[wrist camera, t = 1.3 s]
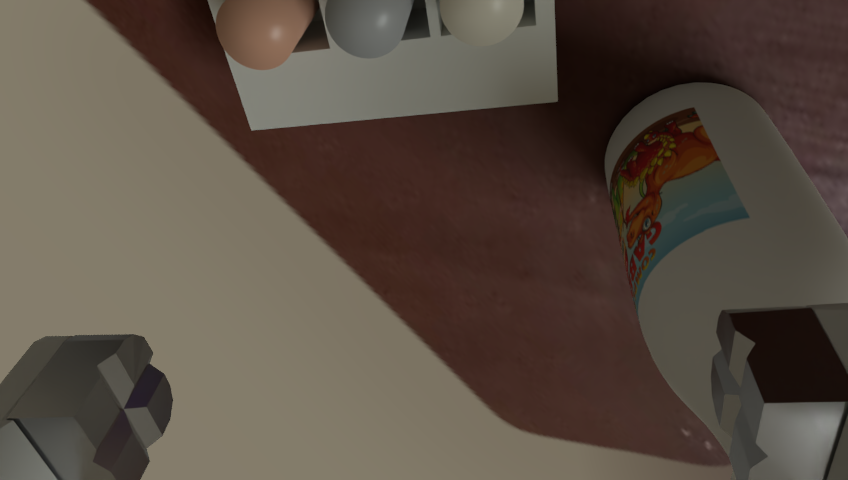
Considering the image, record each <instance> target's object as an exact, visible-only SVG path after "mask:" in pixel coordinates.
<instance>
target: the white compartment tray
mask: <svg viewBox="0 0 848 480" xmlns="http://www.w3.org/2000/svg"><path fill="white" fill-rule="evenodd" d="M224 2H225V0H208V3H209V6H210V9H211V12H212V15H213V18H214V21H215V24H216V16H217V13H218V10H219V8H220V7H221V5H222V4H223V3H224ZM326 3H327V0H319V4H320V7H319V9H318V11H317V13H316V15H315V16H314V18H313V19H312V21H311V23H310V24H309V26H308V27H307V29H306V31H305V32H304V34H303V35H302V37H301V38H300V40H299V42H298V43H297V45H296V46H295V48H294V50H293V51H292V53H291V54H290V56H289V57H288V59H287V60H286V61H285V62H284V63H283V64H281V65H280V66H278V67H276V68H273V69H269V70H255V69H251V68H248V67H245V66H243V65H241V64H240V63H238V62H236V61H235V60H234V59H233V58H232V57H230V56H229V55H228V53H227V52H226V51H225V50H224V51H225V54H226V57H227V60H228V63H229V66H230V69H231V71H232V74H233V77H234V80H235V83H236V86H237V89H238V92H239V95H240V98H241V101H242V104H243V107H244V110H245V113H246V116H247V119H248V122H249V125H250V128H251V130H262V129H272V128H283V127H294V126H304V125H315V124H326V123H336V122H347V121H358V120H368V119H379V118H390V117H400V116H411V115H422V114H432V113H443V112H454V111H464V110H475V109H486V108H496V107H507V106H518V105H528V104H539V103H550V102H558V91H557V62H556V33H555V4H554V0H524V9H523V14H522V18H521V20H520V22H519V24H518V26H517V27H516V29H515V30H514V31H513V32H512V33H511V34H510V35H509V36H508V37H507V38H506V39H504V40H502V41H501V42H498V43H496V44H493V45H489V46H473V45H469V44H466V43H464V42H462V41H460V40H458V39H457V38H455V37H454V36H453V35H452V34H451V33H450V32H449V31H448V29H447V28H446V26H445V24H444V22H443V20H442V17H441V13H440V0H414V3H413V6H412V9H411V12H410V15H409V18H408V22H407V25H406V28H405V31H404V34H403V37H402V39H401V41H400V42H399V44H398V45H397V46H396V47H395V48H394V49H393V50H392V51H391V52H389V53H388V54H386V55H384V56H381V57H378V58H370V59H367V58H360V57H356V56H353V55H351V54H349V53H347V52H345V51H344V50H343V49H341V48H340V47H339V46H338V45H337V44H336V43H335V42H334V40H333V39H332V37H331V36H330V34H329V32H328V30H327V26H326V22H325V7H326Z"/></svg>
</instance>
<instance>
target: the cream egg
mask: <svg viewBox="0 0 848 480" xmlns="http://www.w3.org/2000/svg"><path fill="white" fill-rule="evenodd" d="M523 9H524V0H440V13H441V17H442V20H443V22H444V24H445V26H446V28H447V29H448V31H449V32H450V33H451V34H452V35H453V36H454V37H455V38H457V39H458V40H460V41H462V42H464V43H466V44H469V45H473V46H489V45H493V44H496V43H498V42H501V41H502V40H504V39H506V38H507V37H508V36H509V35H510V34H511V33H512V32H513V31H514V30H515V29H516V27H517V26H518V24H519V22H520V20H521V18H522V14H523Z"/></svg>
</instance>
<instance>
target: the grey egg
mask: <svg viewBox="0 0 848 480" xmlns="http://www.w3.org/2000/svg"><path fill="white" fill-rule="evenodd" d="M413 3H414V0H327V3H326V7H325V22H326V26H327V30H328V32H329V34H330V36H331V37H332V39H333V40H334V42H335V43H336V44H337V45H338V46H339V47H340V48H341V49H343V50H344V51H345V52H347V53H349V54H351V55H353V56H356V57H360V58H367V59H370V58H378V57H381V56H384V55H386V54H388V53H389V52H391V51H392V50H393V49H394V48H395V47H396V46H397V45H398V44H399V42H400V41H401V39H402V37H403V34H404V31H405V28H406V25H407V22H408V18H409V15H410V12H411V9H412V6H413Z"/></svg>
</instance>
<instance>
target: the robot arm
mask: <svg viewBox="0 0 848 480" xmlns="http://www.w3.org/2000/svg"><path fill="white" fill-rule="evenodd" d="M716 334H717V337H718V340H719V343H720V345H721V348H722V349H721V350H720V351H719V352H718V353H717V354H716V355H714V356H713V359H712V369H711V388H712V398H713V403H714V408H715V413H716V416H717V419H718V423H719V426H720V428H721V429H722V430H724V431H725V432H726V433H727V434H728V435H730V436H731V437H732V441H731V447H730V453H729V458H730V461H731V464H732V467H733V470H734V474H735V477H736V480H848V303H836V304H818V305H806V306H805V307H804V306H790V307H769V308H749V309H729V310H722V311H721V313H720V315H719V317H718V323H717V329H716ZM152 355H153V352H152V350H151V348H150V347H149V345H148V343H147V341H146V340H145V338H144V337H142V336H138V335H134V334H129V335H75V336H46V337H44V338H42V339H39V340H37V341H35V342H34V343H33V344H32V345H31V346H30V348H29V349H28V350H27V351H26V353H25V354H24V355H23V356H22V358H21V359H20V360H19V361H18V363H17V364H16V365H15V366H14V368H13V369H12V370H11V371H10V372H9V374H8V375H7V376H6V377H5V379H4V380H3V381H2V383H1V384H0V480H140V479H141V477H142V475H143V473H144V471H145V469H146V467H147V465H148V464H149V456H148V453H147V449H146V448H148V447H149V446H150V445H151V444H153V443H154V442H155V441H156V440H158V439H159V438H160V437H161V436H162V435H163V433H164V431H165V429H166V427H167V425H168V423H169V421H170V417H171V409H172V402H173V399H172V394H171V388H170V385H169V382H168V380H167V378H166V376H165V375H164V373H162V372H161V371H159V370H158V369H156V368H155V367H153V366H152V365H151V364H149V363H150V361H151V358H152Z"/></svg>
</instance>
